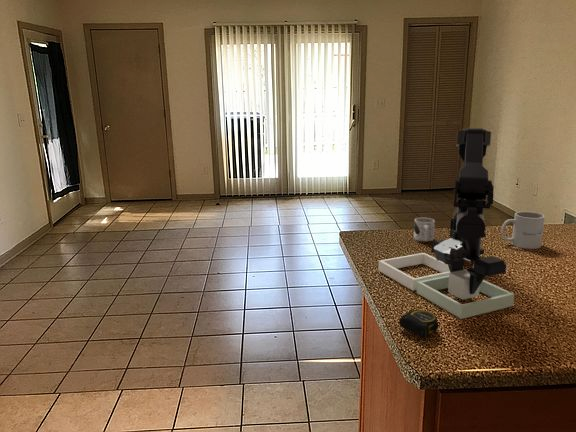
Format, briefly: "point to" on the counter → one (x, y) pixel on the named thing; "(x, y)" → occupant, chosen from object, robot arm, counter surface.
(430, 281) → the bin
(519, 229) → the mug
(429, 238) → the mug
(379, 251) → the counter surface
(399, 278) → the bin
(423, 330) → the tape measure
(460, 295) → the stone cube
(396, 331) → the counter surface
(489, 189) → the robot arm
